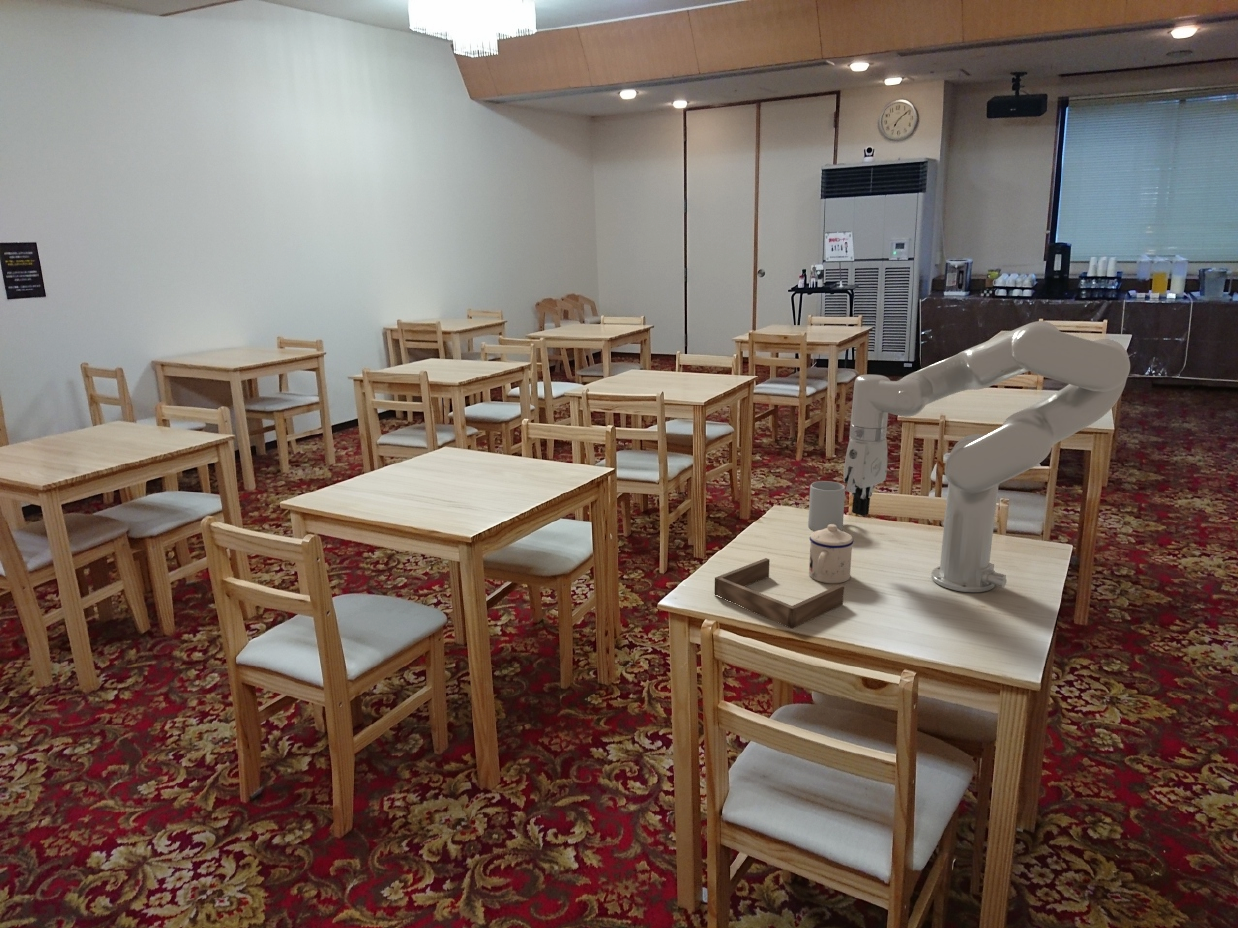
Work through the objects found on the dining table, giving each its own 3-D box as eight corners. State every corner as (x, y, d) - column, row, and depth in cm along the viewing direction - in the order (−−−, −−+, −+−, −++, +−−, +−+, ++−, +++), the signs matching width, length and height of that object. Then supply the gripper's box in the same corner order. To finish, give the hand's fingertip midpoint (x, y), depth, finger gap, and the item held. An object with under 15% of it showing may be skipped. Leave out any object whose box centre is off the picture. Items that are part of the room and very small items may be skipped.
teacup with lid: (815, 565, 190) (817, 515, 186) (856, 572, 185) (859, 522, 182) (797, 584, 180) (800, 532, 176) (840, 592, 175) (843, 539, 172)
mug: (831, 535, 208) (833, 493, 205) (801, 527, 213) (803, 486, 210) (856, 523, 216) (859, 482, 213) (826, 516, 222) (829, 476, 219)
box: (842, 604, 170) (844, 585, 169) (792, 628, 160) (793, 609, 159) (765, 575, 184) (765, 557, 183) (714, 595, 174) (714, 577, 173)
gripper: (862, 441, 175) (854, 525, 180) (902, 431, 184) (894, 511, 189) (832, 434, 180) (825, 516, 185) (872, 424, 189) (865, 502, 194)
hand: (860, 513), depth 187 cm, fingers closed
